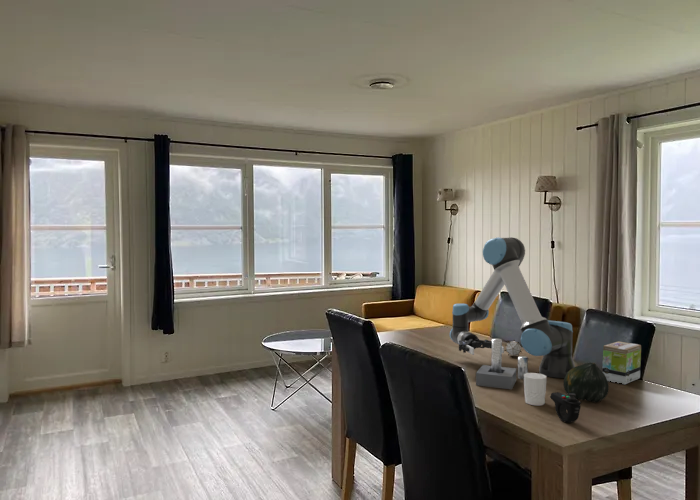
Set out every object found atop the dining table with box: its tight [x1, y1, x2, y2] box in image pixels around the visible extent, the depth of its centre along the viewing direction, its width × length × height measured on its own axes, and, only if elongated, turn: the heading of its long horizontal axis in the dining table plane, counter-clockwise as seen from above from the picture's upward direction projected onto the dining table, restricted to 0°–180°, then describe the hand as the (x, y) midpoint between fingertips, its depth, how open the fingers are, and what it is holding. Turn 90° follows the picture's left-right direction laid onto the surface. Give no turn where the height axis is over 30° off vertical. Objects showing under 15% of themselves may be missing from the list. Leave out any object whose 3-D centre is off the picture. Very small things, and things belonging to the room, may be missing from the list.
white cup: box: [523, 372, 548, 407], centre depth 194 cm, size 8×8×10 cm
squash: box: [563, 362, 610, 403], centre depth 197 cm, size 14×15×15 cm
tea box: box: [601, 341, 642, 385], centre depth 223 cm, size 15×10×15 cm, turn 131°
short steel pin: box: [517, 355, 529, 381], centre depth 225 cm, size 4×4×9 cm
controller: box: [549, 392, 582, 423], centre depth 175 cm, size 4×12×10 cm, turn 14°
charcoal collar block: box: [475, 364, 517, 390], centre depth 219 cm, size 14×14×5 cm
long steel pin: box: [490, 337, 503, 373], centre depth 219 cm, size 4×4×18 cm
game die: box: [504, 339, 523, 357], centre depth 264 cm, size 9×8×10 cm
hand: (488, 350), depth 226 cm, fingers open, 13 cm apart
